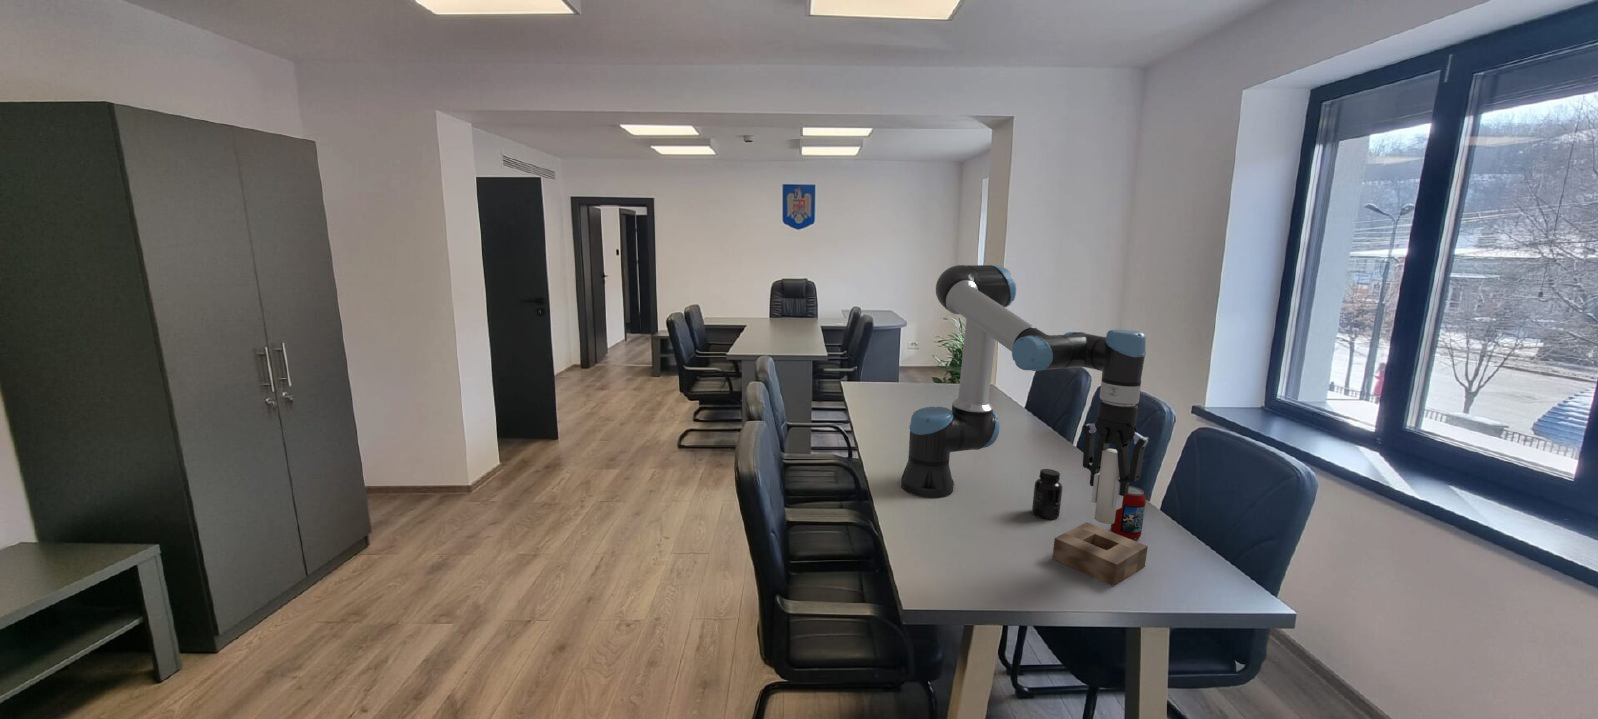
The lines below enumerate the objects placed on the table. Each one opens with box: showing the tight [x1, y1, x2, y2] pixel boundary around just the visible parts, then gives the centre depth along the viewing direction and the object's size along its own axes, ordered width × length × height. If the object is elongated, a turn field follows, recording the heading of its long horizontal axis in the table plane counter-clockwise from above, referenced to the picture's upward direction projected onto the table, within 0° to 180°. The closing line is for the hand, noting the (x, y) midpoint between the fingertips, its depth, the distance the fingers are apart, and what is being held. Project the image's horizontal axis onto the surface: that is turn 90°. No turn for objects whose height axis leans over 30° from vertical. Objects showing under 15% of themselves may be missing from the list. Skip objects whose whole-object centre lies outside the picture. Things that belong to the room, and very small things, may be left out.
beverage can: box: [1110, 485, 1147, 540], centre depth 149 cm, size 7×7×12 cm
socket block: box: [1052, 522, 1149, 587], centre depth 136 cm, size 14×14×5 cm
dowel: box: [1094, 448, 1120, 525], centre depth 133 cm, size 4×4×16 cm
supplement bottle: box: [1031, 468, 1063, 520], centre depth 159 cm, size 7×7×12 cm
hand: (1106, 504), depth 134 cm, fingers closed on dowel, 4 cm apart
